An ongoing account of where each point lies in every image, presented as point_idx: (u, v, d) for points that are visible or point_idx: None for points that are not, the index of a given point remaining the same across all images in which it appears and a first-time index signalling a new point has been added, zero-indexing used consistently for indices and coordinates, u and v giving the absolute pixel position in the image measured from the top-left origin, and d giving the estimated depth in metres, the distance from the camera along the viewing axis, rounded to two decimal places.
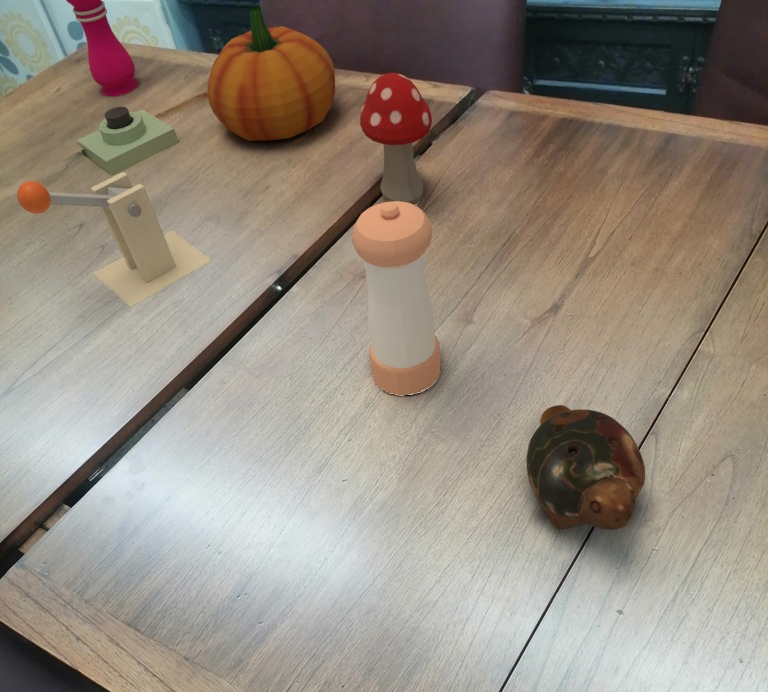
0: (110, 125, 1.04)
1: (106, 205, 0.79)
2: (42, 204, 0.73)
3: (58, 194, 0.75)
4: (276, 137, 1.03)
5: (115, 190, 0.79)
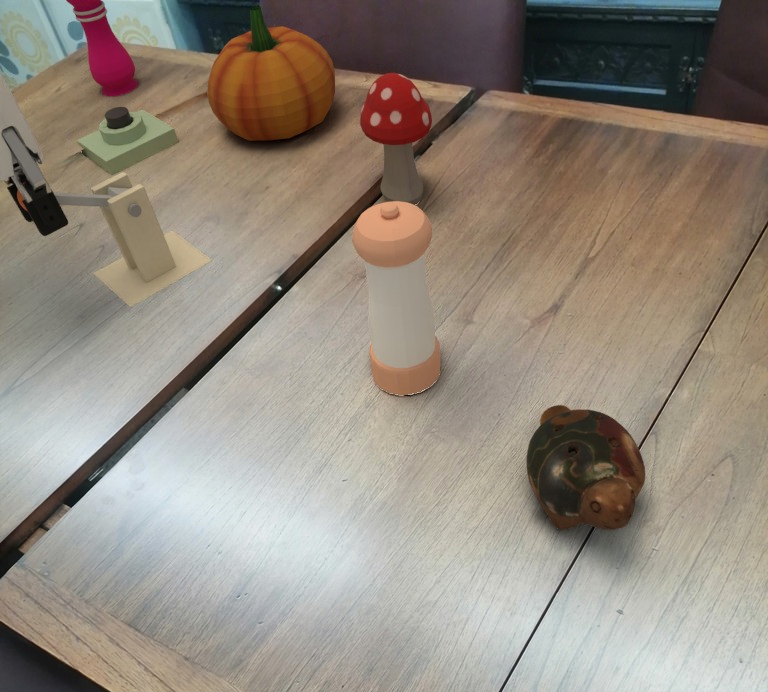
0: (110, 125, 1.04)
1: (106, 205, 0.79)
2: None
3: (58, 194, 0.75)
4: (276, 137, 1.03)
5: (115, 190, 0.79)
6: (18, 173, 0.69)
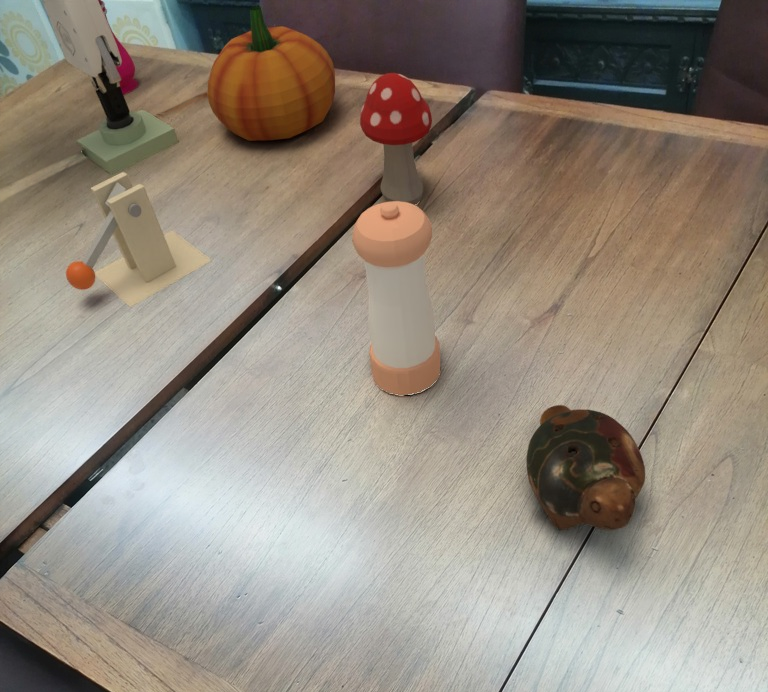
0: None
1: None
2: (89, 279, 0.82)
3: (88, 255, 0.81)
4: (276, 137, 1.03)
5: None
6: (100, 72, 0.98)
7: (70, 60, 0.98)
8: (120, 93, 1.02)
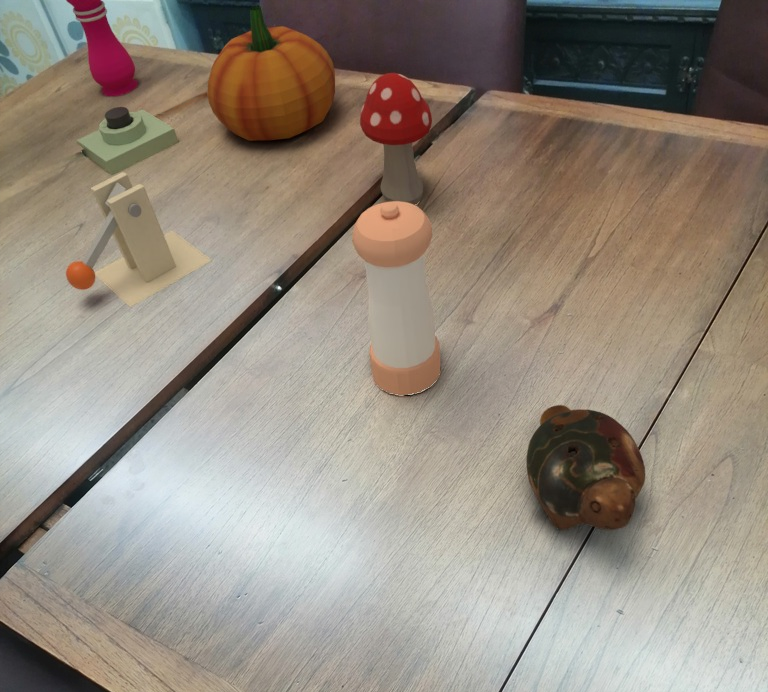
0: (110, 125, 1.04)
1: None
2: (89, 279, 0.82)
3: (88, 255, 0.81)
4: (276, 137, 1.03)
5: None
6: None
7: None
8: None
